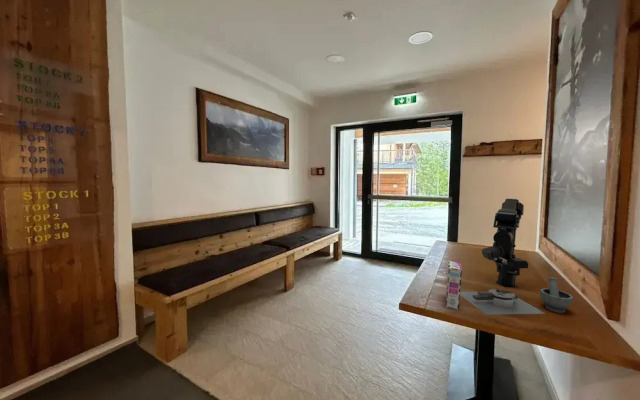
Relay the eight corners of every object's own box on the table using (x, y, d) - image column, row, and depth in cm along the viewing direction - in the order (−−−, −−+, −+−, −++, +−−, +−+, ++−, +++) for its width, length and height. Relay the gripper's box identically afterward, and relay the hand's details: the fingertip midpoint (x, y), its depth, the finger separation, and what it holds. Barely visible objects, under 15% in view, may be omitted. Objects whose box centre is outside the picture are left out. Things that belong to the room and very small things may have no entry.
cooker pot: (506, 297, 116) (506, 290, 116) (523, 307, 107) (524, 300, 107) (466, 297, 115) (467, 290, 115) (480, 308, 106) (481, 300, 106)
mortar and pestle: (575, 318, 100) (578, 287, 99) (544, 312, 104) (546, 283, 103) (563, 305, 110) (566, 277, 109) (535, 300, 114) (537, 273, 113)
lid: (503, 291, 115) (503, 286, 115) (520, 298, 106) (520, 293, 106) (472, 291, 114) (472, 287, 114) (486, 298, 105) (486, 294, 105)
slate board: (506, 292, 122) (506, 291, 122) (545, 314, 103) (545, 313, 103) (456, 292, 121) (456, 291, 121) (486, 315, 101) (486, 314, 101)
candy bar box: (459, 310, 104) (462, 270, 103) (445, 307, 107) (448, 268, 105) (458, 299, 115) (460, 262, 113) (445, 296, 117) (447, 260, 115)
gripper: (471, 236, 118) (469, 269, 120) (503, 247, 100) (500, 287, 102) (495, 235, 119) (492, 269, 121) (531, 247, 101) (527, 286, 102)
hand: (501, 277), depth 111 cm, fingers closed
